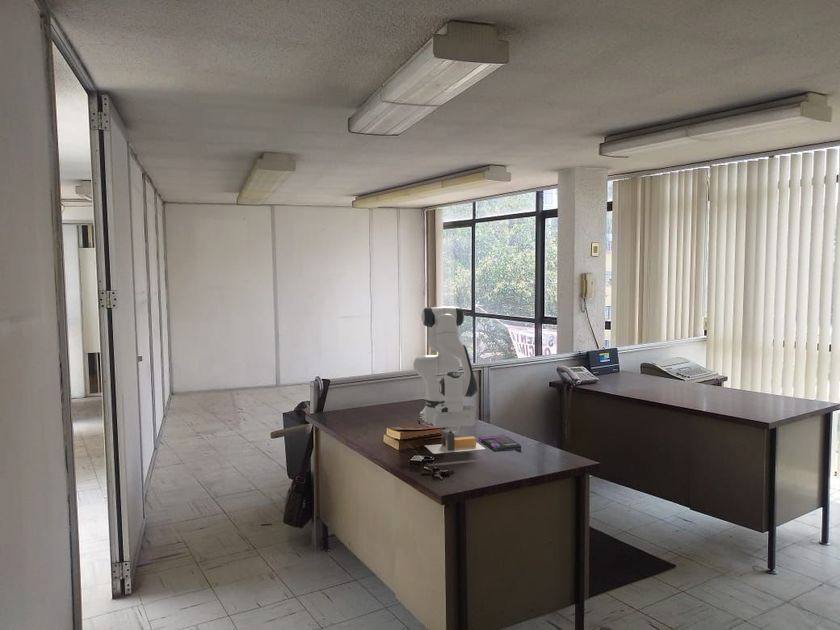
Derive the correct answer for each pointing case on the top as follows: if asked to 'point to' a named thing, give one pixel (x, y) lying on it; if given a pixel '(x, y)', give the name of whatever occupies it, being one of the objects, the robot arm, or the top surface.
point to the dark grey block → (448, 439)
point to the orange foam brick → (464, 442)
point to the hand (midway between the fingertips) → (454, 435)
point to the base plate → (443, 449)
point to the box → (500, 443)
